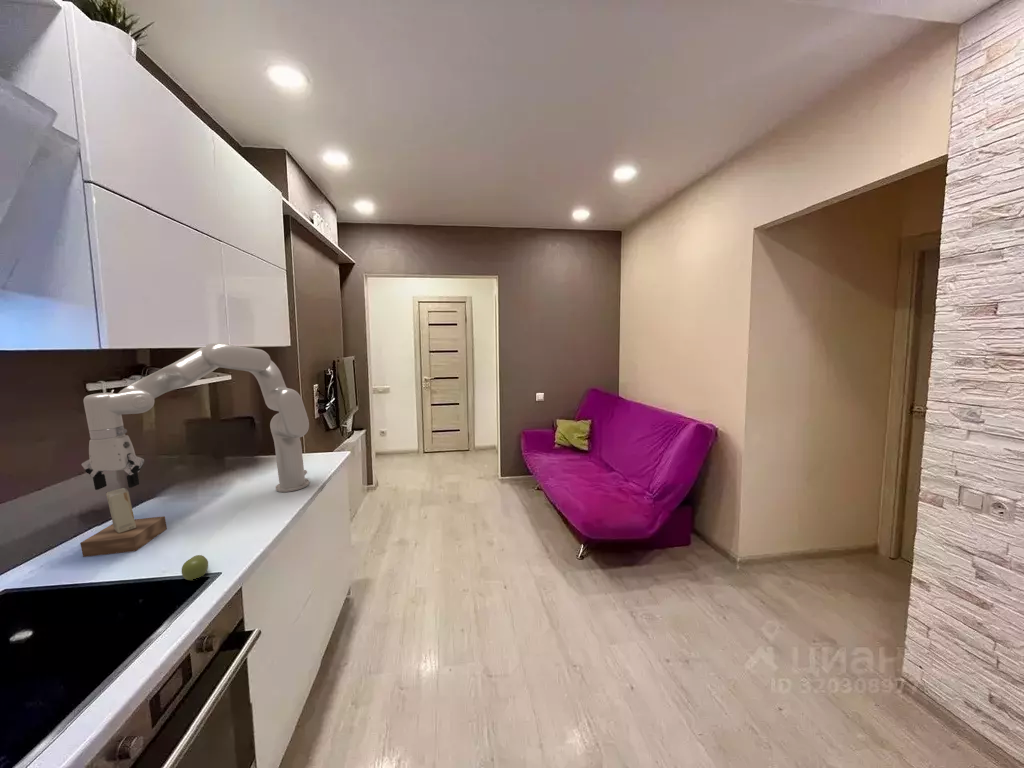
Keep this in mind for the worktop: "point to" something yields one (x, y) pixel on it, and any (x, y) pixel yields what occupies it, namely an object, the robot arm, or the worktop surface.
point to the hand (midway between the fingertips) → (117, 487)
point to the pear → (195, 567)
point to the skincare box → (121, 510)
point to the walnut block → (123, 537)
